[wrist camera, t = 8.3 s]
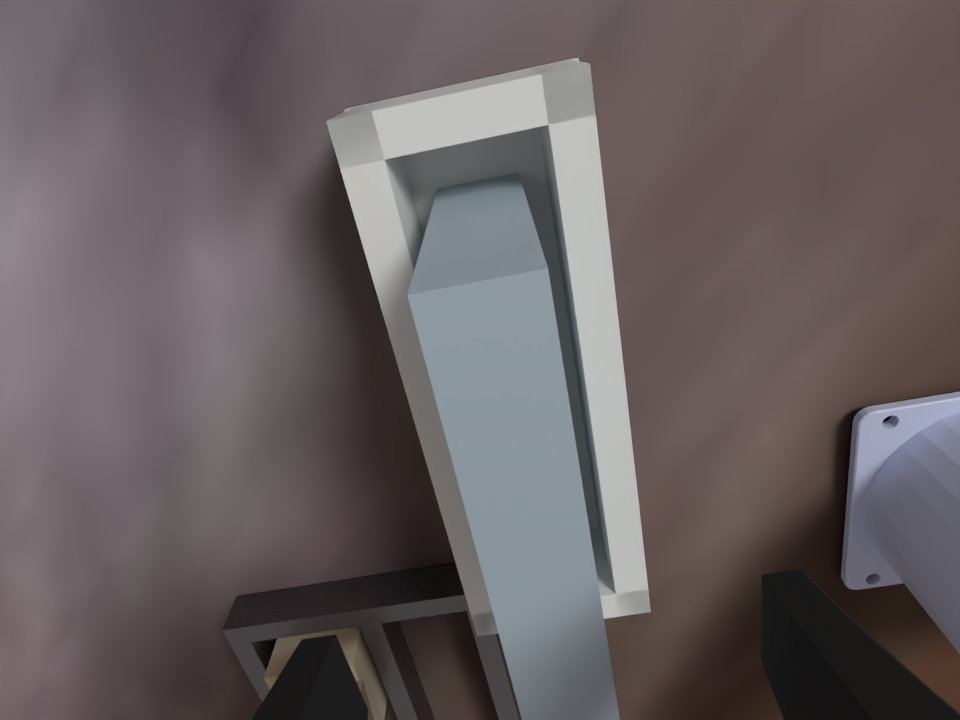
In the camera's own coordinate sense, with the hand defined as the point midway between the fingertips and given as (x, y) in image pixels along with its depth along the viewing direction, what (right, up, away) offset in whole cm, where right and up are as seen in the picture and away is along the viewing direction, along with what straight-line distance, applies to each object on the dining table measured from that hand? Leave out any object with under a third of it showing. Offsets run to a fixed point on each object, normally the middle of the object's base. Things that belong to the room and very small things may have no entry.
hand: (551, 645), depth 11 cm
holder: (0, +5, +9) cm, 10 cm away
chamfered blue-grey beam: (0, +4, +9) cm, 10 cm away
